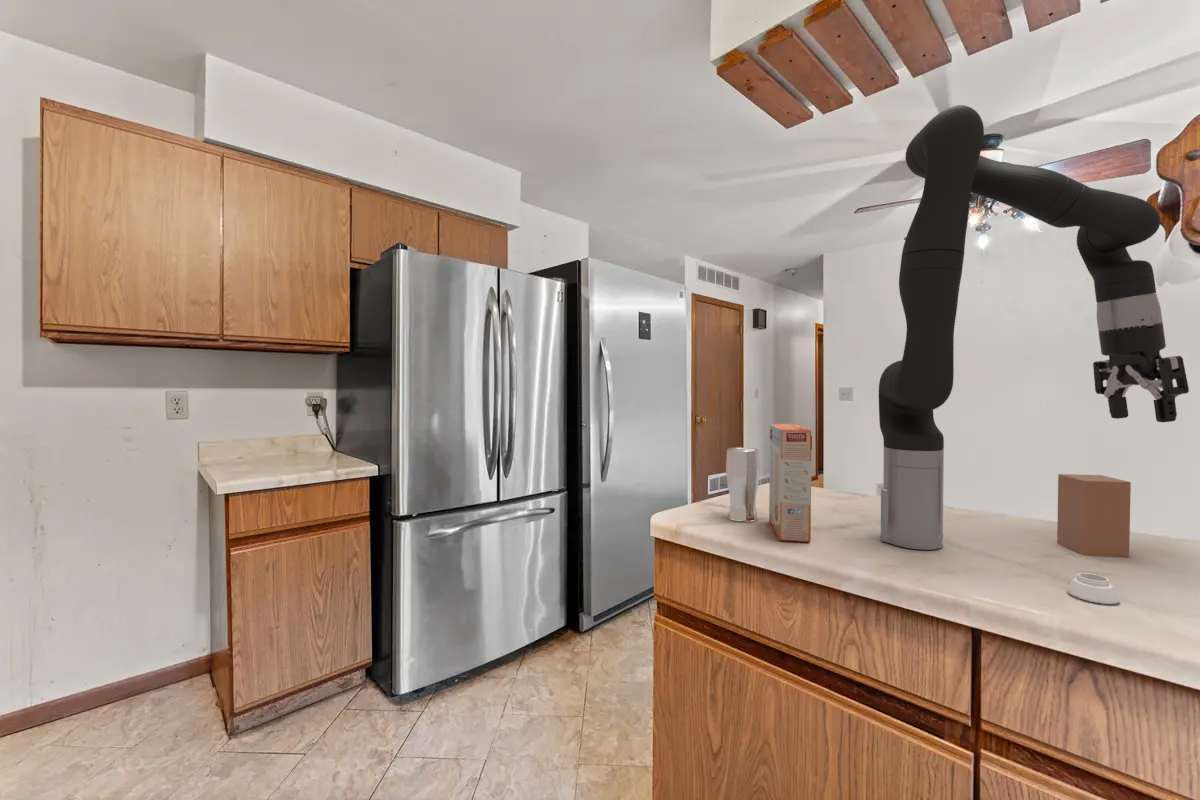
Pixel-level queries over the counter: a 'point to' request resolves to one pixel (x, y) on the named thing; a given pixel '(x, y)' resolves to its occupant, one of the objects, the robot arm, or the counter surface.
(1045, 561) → the counter surface
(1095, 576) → the lidless jar
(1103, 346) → the robot arm
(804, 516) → the cracker box
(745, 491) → the beer glass
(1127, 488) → the brown rectangular block
